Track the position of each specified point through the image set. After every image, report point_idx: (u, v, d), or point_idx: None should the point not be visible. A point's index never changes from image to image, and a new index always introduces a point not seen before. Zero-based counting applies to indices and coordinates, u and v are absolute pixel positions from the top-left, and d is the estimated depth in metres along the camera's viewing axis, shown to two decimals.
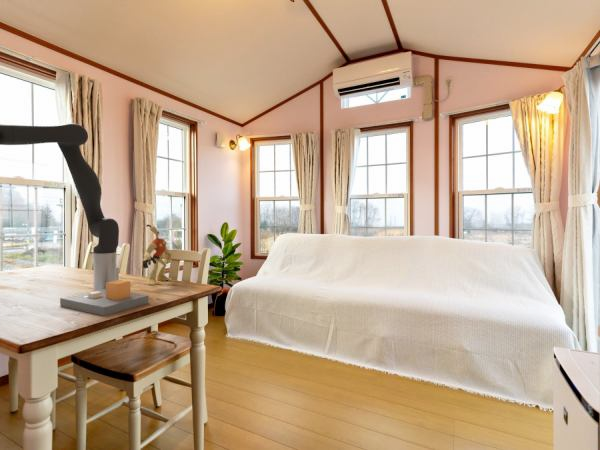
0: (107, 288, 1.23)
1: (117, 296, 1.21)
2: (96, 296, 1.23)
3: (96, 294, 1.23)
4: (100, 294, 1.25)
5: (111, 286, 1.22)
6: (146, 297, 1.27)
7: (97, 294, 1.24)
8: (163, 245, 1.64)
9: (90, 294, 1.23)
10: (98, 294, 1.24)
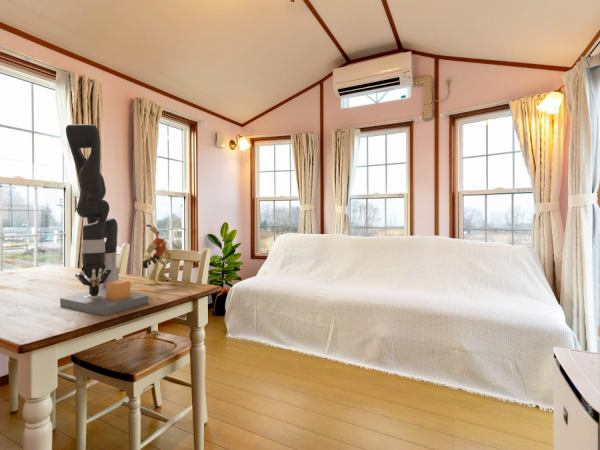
0: (107, 288, 1.23)
1: (117, 296, 1.21)
2: None
3: (96, 297, 1.23)
4: None
5: (111, 286, 1.22)
6: (146, 297, 1.27)
7: (97, 297, 1.24)
8: (163, 245, 1.64)
9: (90, 297, 1.23)
10: (98, 297, 1.24)
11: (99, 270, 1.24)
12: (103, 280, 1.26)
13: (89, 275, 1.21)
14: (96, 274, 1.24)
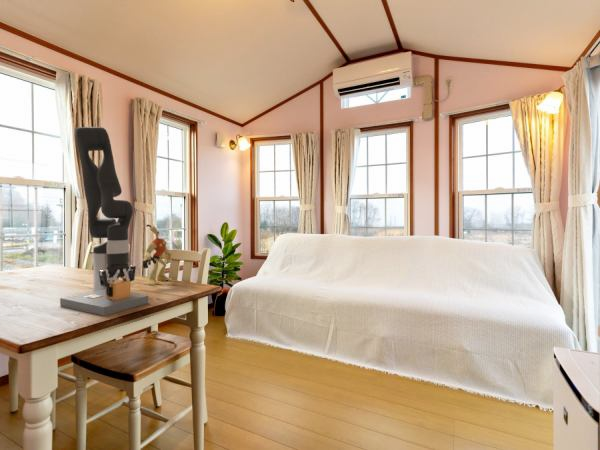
0: None
1: (117, 296, 1.21)
2: None
3: None
4: None
5: None
6: (146, 297, 1.27)
7: None
8: (163, 245, 1.64)
9: None
10: None
11: (124, 271, 1.25)
12: (133, 278, 1.29)
13: None
14: (120, 274, 1.24)
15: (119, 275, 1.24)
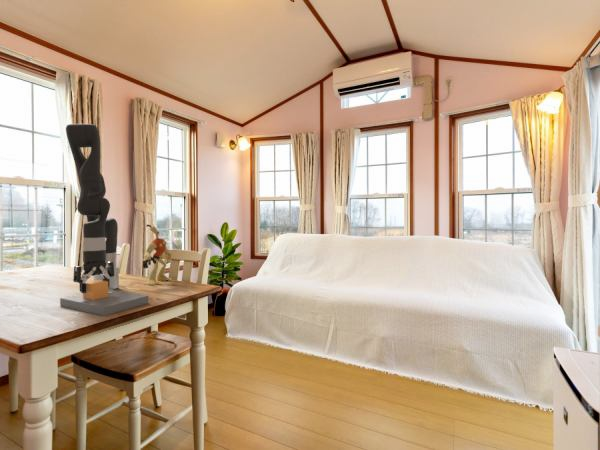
0: None
1: (93, 296, 1.21)
2: None
3: None
4: None
5: (88, 285, 1.21)
6: (146, 297, 1.27)
7: None
8: (163, 245, 1.64)
9: None
10: None
11: (100, 268, 1.24)
12: (112, 273, 1.29)
13: None
14: (97, 272, 1.24)
15: (96, 272, 1.23)
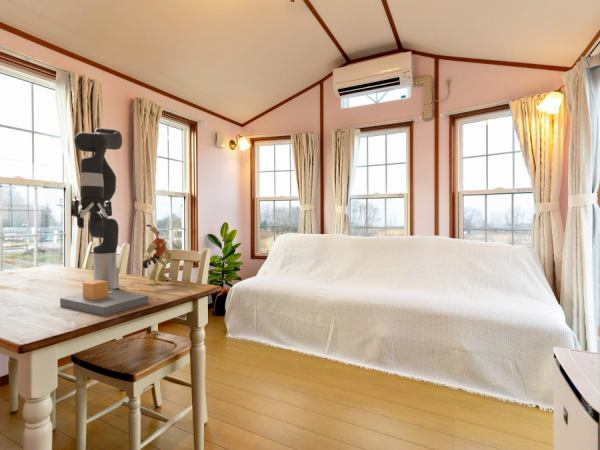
0: (84, 288, 1.22)
1: (93, 296, 1.21)
2: None
3: None
4: None
5: (88, 285, 1.21)
6: (146, 297, 1.27)
7: None
8: (163, 245, 1.64)
9: None
10: None
11: (98, 205, 1.24)
12: (110, 213, 1.29)
13: None
14: (94, 208, 1.23)
15: (93, 209, 1.23)
